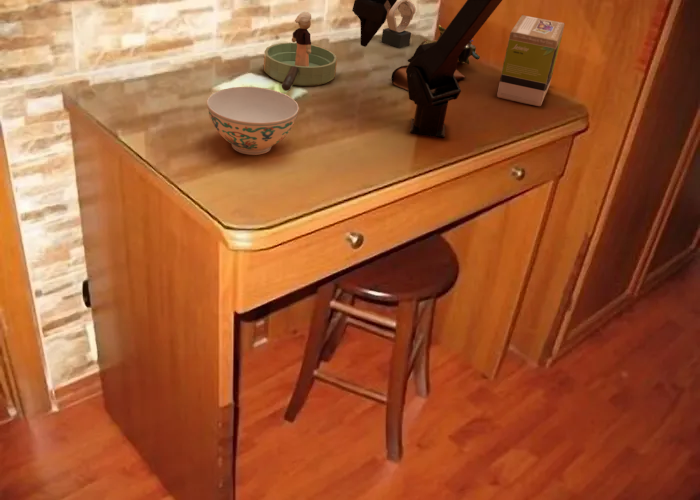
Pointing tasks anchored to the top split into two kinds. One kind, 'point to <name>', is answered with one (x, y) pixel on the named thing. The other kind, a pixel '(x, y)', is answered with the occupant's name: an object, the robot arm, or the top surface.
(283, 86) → the pan handle
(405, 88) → the sunglasses case
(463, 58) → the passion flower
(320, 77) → the pan
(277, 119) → the chinaware
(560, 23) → the tea box
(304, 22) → the grandmother figurine
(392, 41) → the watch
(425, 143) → the top surface
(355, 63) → the top surface
